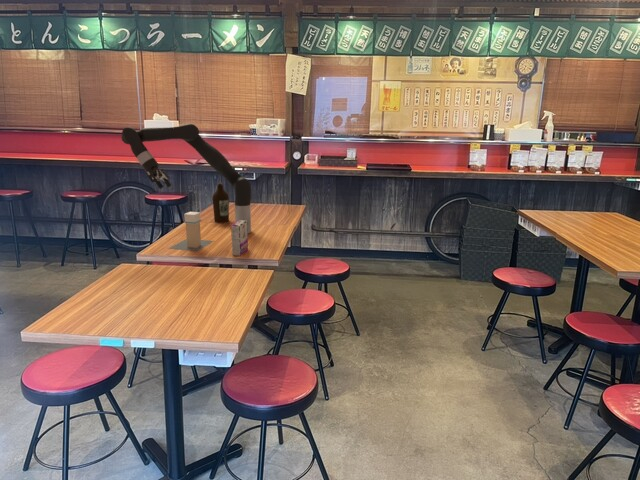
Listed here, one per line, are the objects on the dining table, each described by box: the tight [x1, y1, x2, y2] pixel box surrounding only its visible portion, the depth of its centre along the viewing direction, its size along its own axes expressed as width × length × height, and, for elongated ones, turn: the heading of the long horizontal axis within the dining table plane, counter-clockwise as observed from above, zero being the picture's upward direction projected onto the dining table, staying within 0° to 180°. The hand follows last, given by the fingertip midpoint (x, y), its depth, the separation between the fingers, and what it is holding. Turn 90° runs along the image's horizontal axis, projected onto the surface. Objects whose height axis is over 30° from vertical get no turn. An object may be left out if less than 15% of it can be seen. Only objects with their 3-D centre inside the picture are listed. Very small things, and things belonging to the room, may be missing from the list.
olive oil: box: [211, 182, 230, 223], centre depth 319 cm, size 11×11×25 cm
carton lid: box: [184, 211, 202, 224], centre depth 259 cm, size 6×6×5 cm
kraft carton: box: [185, 222, 202, 248], centre depth 262 cm, size 5×5×13 cm
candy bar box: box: [230, 220, 249, 256], centre depth 254 cm, size 11×5×16 cm, turn 168°
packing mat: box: [167, 238, 215, 252], centre depth 266 cm, size 20×17×1 cm
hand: (166, 187), depth 256 cm, fingers open, 8 cm apart
